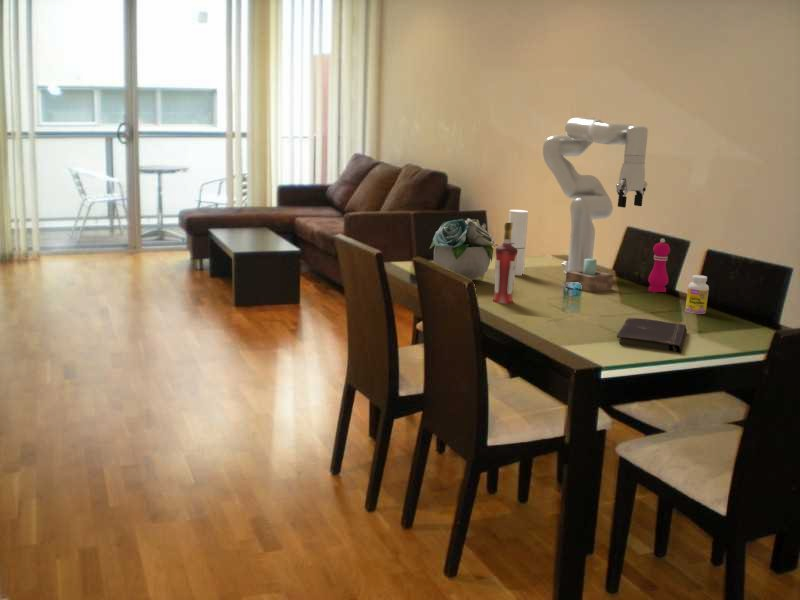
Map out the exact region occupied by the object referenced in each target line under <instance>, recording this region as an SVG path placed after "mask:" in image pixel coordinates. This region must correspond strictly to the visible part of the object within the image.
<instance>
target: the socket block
mask: <svg viewBox="0 0 800 600" xmlns="http://www.w3.org/2000/svg"><path fill="white" fill-rule="evenodd" d="M583 271H584V269H582V270H575V271H568V272H567V273H566V274H565V275H566V276H565V283H566V282H579V283H581V285H582V290H581V291H584V292H588V293H596V292H603V291H611V290H612V288H613V282H614V281H613V280H614V278H613V277H614V274H613V273H609V272H603V271H600V270H596V274H595V275H587V274H583Z"/></svg>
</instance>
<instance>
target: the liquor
mask: <svg viewBox="0 0 800 600" xmlns="http://www.w3.org/2000/svg"><path fill="white" fill-rule="evenodd" d="M503 224H504V226H503V228H504V229H503V231H504V232H503V233H504V234H503V237H502V238H503V239H502V244H501V245H498V246H496V247H495V261H494V271H495V272H494V274H495V275H494V294H493V295H494V296H493V299H492V301H493V303H496V304H497V303H498V304H506V305H509V304H512V303H514V301H513V291H514V284H515V283H514V282H515V276H516V275H515V269H516V261H517V252H518V250H517V249H516V248H515V247H513V246H511V230H512V224H513V222H509V221H504V223H503Z"/></svg>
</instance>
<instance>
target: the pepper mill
mask: <svg viewBox="0 0 800 600" xmlns="http://www.w3.org/2000/svg"><path fill="white" fill-rule="evenodd" d="M665 239H666V238H664V237H663V238H660V240H659V242H657V243H655V244H654V246H653V247H652V248H653V249H652V250H653V253H654V255H653V260H654V264H653V267H652V270H651V271H650V273H649V275H648V279H647V282H648V283H649V286H648V292H650V291H651V292H650V293H655V292H665V293H666V292H667V287H666V286H667V285H668V283H669V276H668V272H667V268H666V265H667V261H668V255H669V254H670V252H671V248H670V245H669V244H668V243H666V240H665Z"/></svg>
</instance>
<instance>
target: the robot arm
mask: <svg viewBox="0 0 800 600" xmlns="http://www.w3.org/2000/svg"><path fill="white" fill-rule="evenodd" d="M564 130H565V134H566V135H565V134H559V135H557V134H555V135H551V136H549V137H548V138H546V139H545V141H544V142H543V145H542V157H543V159H544V163H545V164H546V166H547V167H548V169H549V170H550V172H551V173H552V174H553V176H554V177H555V179H556V181H557V183H558V185H559V186H560V188H561V190H562V192H563V193H564V195H565V197H566V198H568V199H570V200H571V199H572V201H571V202H570V206H569V211H570V237H569V239H570V240H569V247H568V248H569V249H568V259H567V260H568V261H567V260H563V262H561V267H565V269H563V274H565V275H566V273H567V272H568V271H575V270H582V269H584V259H594V250H595V249H594V248H595V239H596V238H595V237H596V230H595V229H596V228H595V226H594V223H593V220H604V219H607V218H609V217H610V216H612V213H613V210H614V207H613V201H612V200H611V197H610V196H609V194H608V193H607V191H606V189H605V187H604V186H603V184H602V183H601V181H600V180H599V178H597V177H596V176H594V175H591V174H580V173H578V171H577V169H576V168H575V166H574V165H573V163H571V161H570V160H568V159H567V158H566V157H578V156H581V155H582V154H584V153H585V152H586V151H587V150H588V148H590V147H591V145H592V144H593V143H596V144H603V145H621V146H622V145H624V155H623V156H624V157H623V163H622V165H621V168H620V171H619V177H618V183H616V185H615V189H616V193H617V196H618V199H617V207H618V208H627V207H626V206H627V194H628V193H629V192H635V194H634V200H633V201H634V202H633V205H634V206H636V207H642V206H643V197H644V196H645V192H646V189H647V187H648V182H646V180H645V177H646V168H645V167H646V154H647V144H648V136H649V134H648V133H649V130H648V127H647V126H644V125H643V126H642V125H634V124H630V123H604V122H603V121H601V119H596V118H594V117H579V116H577V117H572V118H570V119H569V120H568V121H566V124H565V125H564Z"/></svg>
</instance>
